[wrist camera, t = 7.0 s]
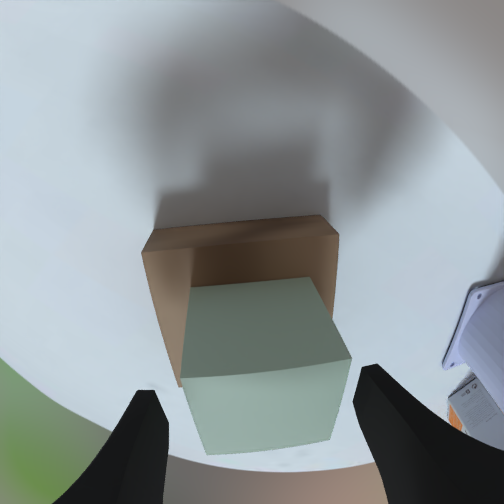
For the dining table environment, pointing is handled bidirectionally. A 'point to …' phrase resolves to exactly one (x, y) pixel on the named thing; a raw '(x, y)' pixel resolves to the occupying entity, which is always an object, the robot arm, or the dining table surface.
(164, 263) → the walnut block
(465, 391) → the skincare box
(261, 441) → the sage cube
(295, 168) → the dining table surface
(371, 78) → the dining table surface
